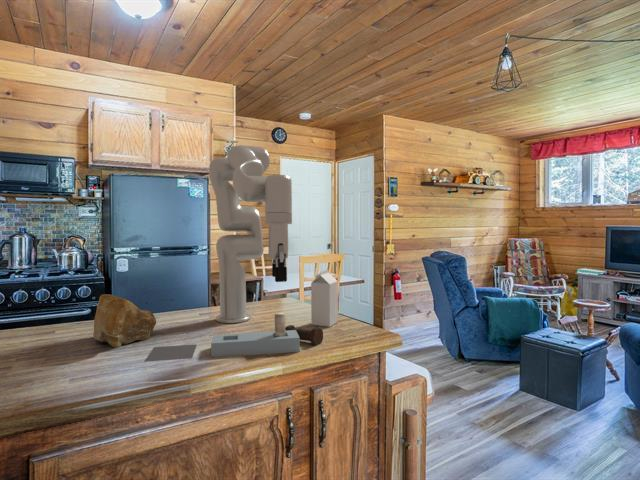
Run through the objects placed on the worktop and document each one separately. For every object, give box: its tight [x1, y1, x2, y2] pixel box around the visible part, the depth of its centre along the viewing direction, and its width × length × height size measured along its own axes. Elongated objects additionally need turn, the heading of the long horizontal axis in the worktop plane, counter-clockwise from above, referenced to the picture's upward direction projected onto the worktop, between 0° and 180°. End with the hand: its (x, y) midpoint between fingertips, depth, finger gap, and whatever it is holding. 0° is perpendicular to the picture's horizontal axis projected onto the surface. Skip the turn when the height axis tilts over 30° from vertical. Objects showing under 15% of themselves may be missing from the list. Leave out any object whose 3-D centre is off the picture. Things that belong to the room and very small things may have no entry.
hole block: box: [210, 330, 301, 358], centre depth 114 cm, size 24×8×4 cm, turn 101°
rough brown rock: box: [92, 293, 157, 349], centre depth 124 cm, size 23×17×15 cm
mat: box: [144, 344, 198, 363], centre depth 112 cm, size 12×12×1 cm
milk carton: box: [310, 269, 339, 328], centre depth 142 cm, size 7×7×19 cm
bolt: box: [285, 324, 324, 347], centre depth 123 cm, size 6×5×15 cm
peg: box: [274, 312, 286, 337], centre depth 115 cm, size 3×3×10 cm
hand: (279, 278), depth 115 cm, fingers open, 9 cm apart
